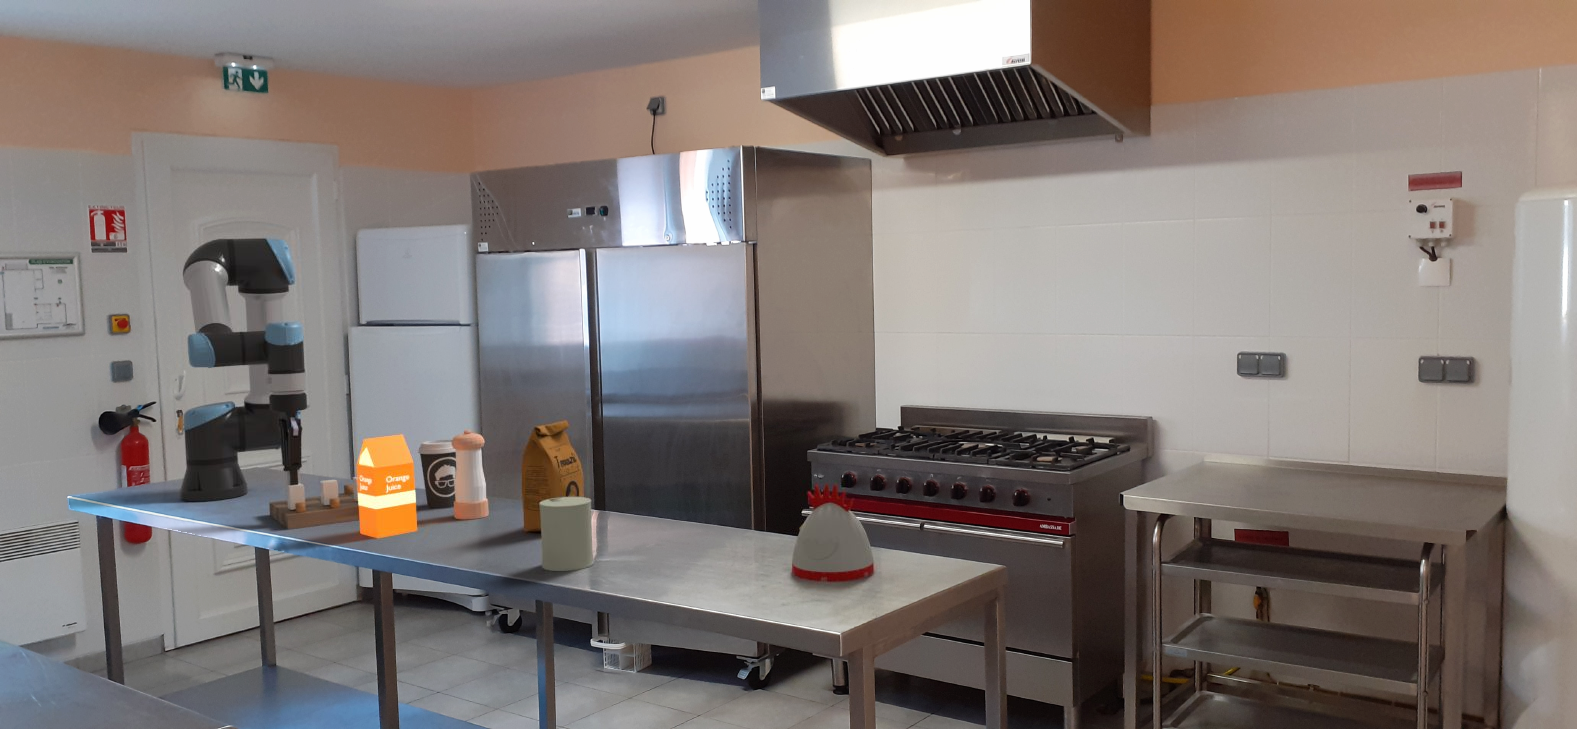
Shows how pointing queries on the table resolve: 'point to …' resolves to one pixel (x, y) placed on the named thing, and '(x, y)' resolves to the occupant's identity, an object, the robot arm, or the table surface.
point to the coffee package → (548, 471)
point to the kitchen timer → (832, 541)
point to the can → (566, 533)
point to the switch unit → (317, 511)
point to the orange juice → (386, 487)
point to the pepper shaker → (469, 477)
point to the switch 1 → (295, 495)
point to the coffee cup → (439, 472)
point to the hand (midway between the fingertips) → (294, 499)
